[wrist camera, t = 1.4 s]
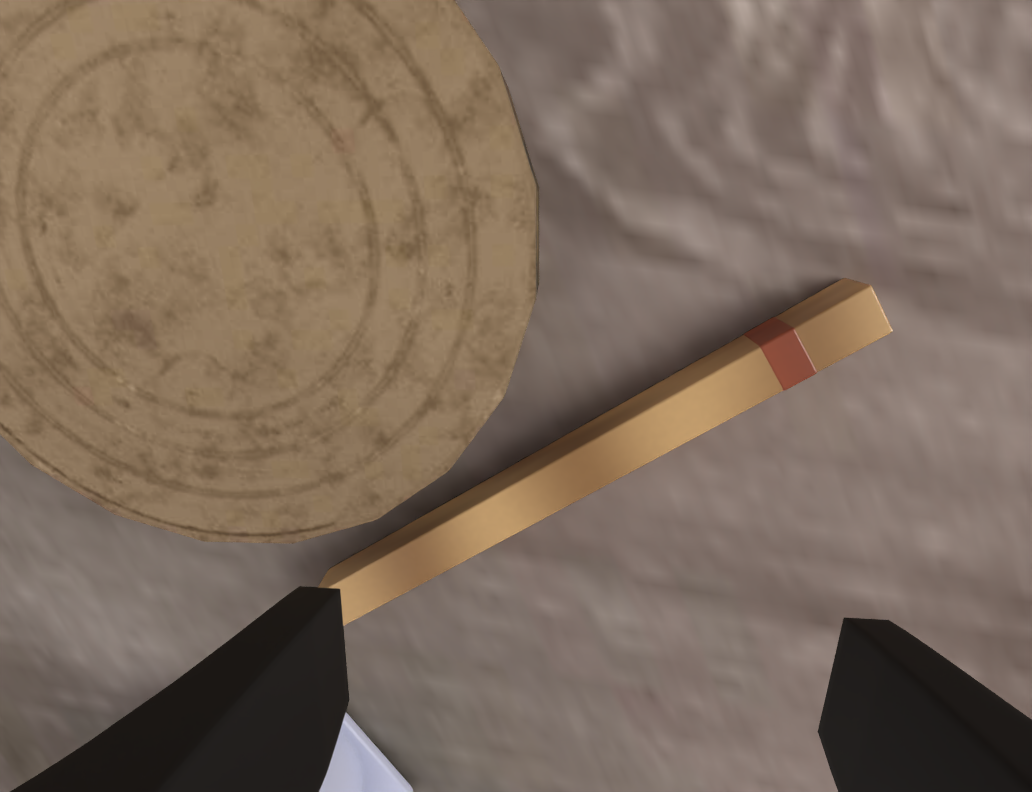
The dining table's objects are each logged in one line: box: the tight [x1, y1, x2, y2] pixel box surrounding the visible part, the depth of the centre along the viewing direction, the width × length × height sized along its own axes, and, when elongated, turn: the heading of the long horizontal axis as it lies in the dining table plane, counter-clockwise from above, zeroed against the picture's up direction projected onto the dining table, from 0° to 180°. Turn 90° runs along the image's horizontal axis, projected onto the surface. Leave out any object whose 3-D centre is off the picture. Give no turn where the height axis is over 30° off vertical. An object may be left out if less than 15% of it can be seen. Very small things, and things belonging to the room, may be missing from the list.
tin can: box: [0, 0, 539, 544], centre depth 16 cm, size 16×16×3 cm
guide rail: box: [318, 278, 892, 626], centre depth 18 cm, size 18×1×2 cm, turn 123°
